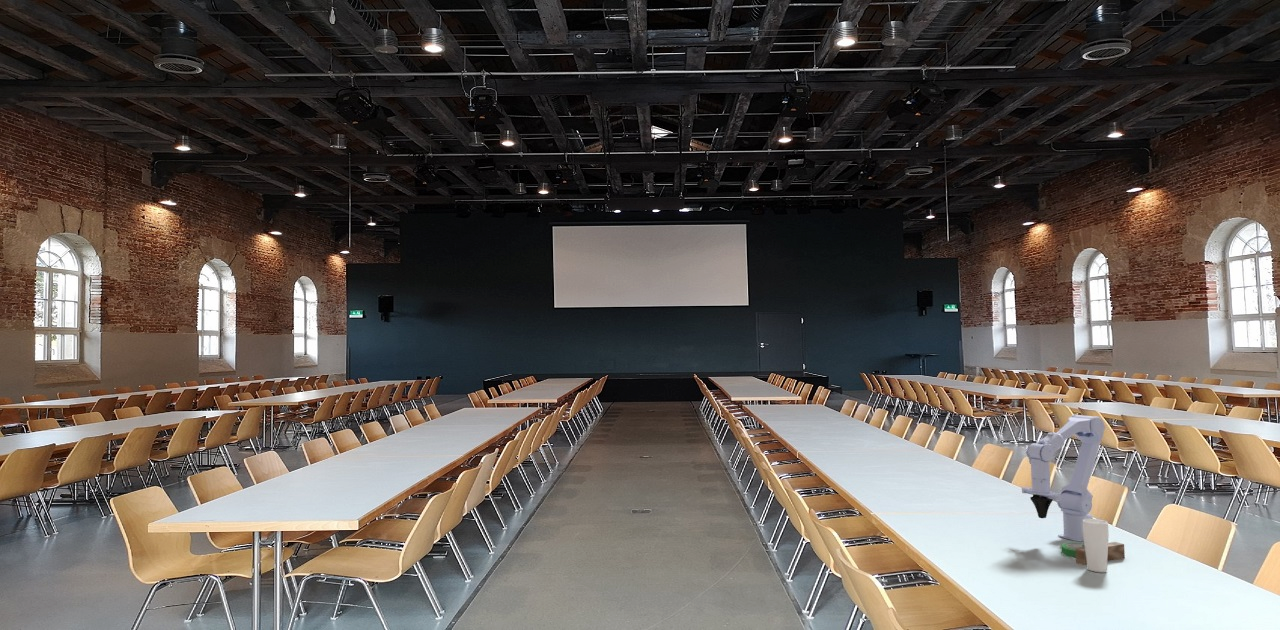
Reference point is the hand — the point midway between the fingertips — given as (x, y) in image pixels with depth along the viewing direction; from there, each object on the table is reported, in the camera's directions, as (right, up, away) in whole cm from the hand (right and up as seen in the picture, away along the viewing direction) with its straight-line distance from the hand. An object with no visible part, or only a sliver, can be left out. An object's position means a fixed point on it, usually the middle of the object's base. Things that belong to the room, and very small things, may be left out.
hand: (1042, 517), depth 252 cm
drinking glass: (0, -8, -30) cm, 31 cm away
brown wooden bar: (+7, -8, -20) cm, 23 cm away
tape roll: (+5, -9, -13) cm, 17 cm away
